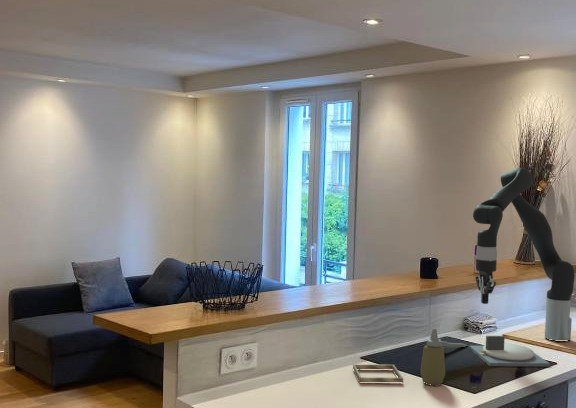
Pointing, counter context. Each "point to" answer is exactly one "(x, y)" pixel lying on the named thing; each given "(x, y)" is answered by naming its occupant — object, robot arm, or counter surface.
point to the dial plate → (494, 361)
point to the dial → (506, 349)
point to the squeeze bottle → (433, 361)
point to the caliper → (451, 344)
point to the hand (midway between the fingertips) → (484, 303)
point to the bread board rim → (377, 379)
